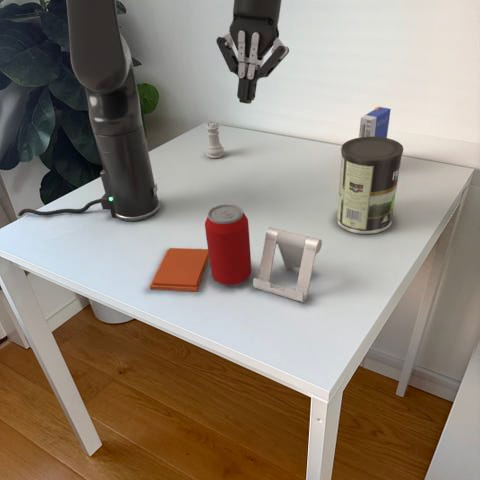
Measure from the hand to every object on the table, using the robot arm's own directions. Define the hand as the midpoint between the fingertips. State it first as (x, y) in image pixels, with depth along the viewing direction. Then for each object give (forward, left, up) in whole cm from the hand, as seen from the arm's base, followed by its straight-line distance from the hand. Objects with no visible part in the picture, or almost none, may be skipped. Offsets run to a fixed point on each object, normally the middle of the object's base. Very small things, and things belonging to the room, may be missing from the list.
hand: (245, 102), depth 84 cm
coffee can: (+22, -4, -21) cm, 30 cm away
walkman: (+24, +20, -21) cm, 38 cm away
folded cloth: (-9, -22, -21) cm, 32 cm away
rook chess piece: (-13, +26, -21) cm, 36 cm away
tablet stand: (+10, -25, -21) cm, 34 cm away
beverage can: (0, -23, -21) cm, 31 cm away
